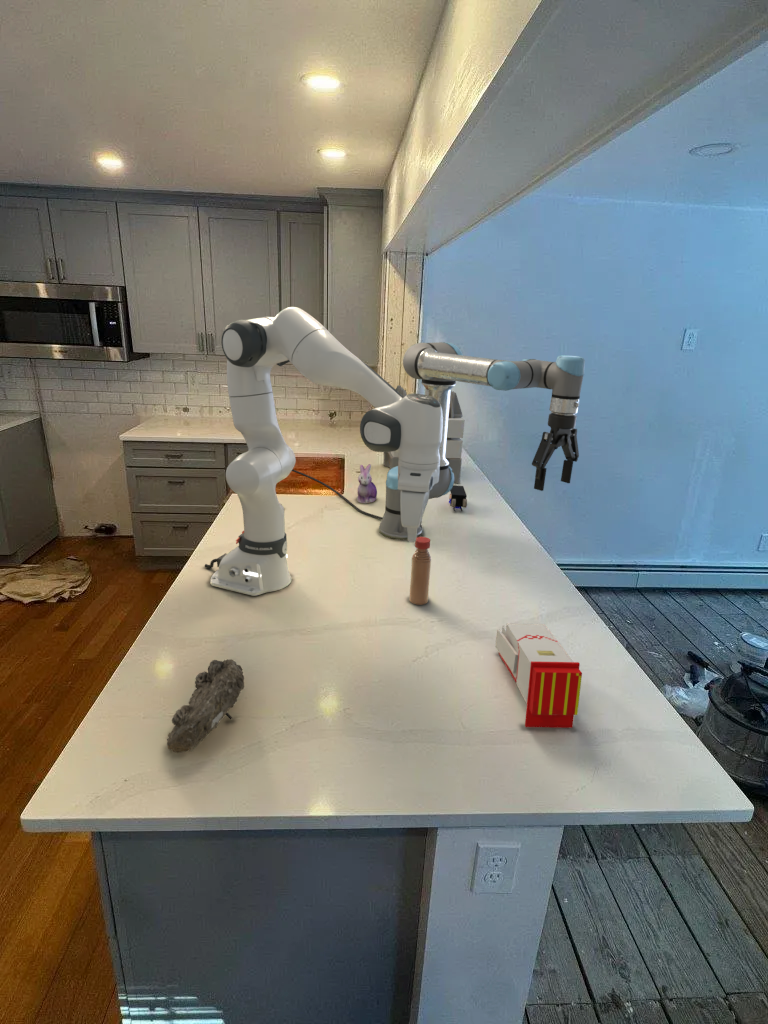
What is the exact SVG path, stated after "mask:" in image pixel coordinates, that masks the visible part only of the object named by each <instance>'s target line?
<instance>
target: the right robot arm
mask: <svg viewBox="0 0 768 1024" xmlns="http://www.w3.org/2000/svg"><path fill="white" fill-rule="evenodd" d="M585 365H586V360H585V358H584V357H582V356H578V355H566V354H565V355H564V354H563V355H558V356H557V357H556V360H555V361H549V360H541V359H536V358H524V359H521V360H506V359H505V360H504V359H503V360H502V359H496V358H487V357H479V356H471V355H464V354H463V352H462V350H461V349H460V347H459V346H457V345H456V344H455V343H451V342H445V341H443V342H442V341H441V342H440V341H439V342H438V341H437V342H417V343H414V344H412V345H411V346H409V347H408V348H407V350H406V351H405V353H404V355H403V358H402V366H403V369H404V372H405V373H406V374H407V375H408V376H409V377H411V378H412V379H415V380H421V385H422V386H423V387H424V389H425V392H424V395H428V396H430V397H433V398H435V399H436V400H437V401H438V402H439V403H440V405H441V408H442V415H443V431H442V441H441V444H440V448H439V454H440V472H439V482H438V483H436V484H434V486H433V487H432V489H431V490H430V492H429V500H431V499H437V498H440V497H443V496H446V495H448V493H450V490H451V489H452V487H453V485H454V484H455V483H454V473H452V469H451V467H450V466H449V462H448V461H447V459H446V458H445V453H446V441H447V428H448V416H449V404H450V392H451V391H452V389H453V388H454V387H455V386H456V384H457V382H461V383H465V384H473V385H479V386H487V387H491V388H492V389H494V390H496V391H503V392H504V391H511V390H520V389H532V388H533V389H534V388H539V389H546V390H551V398H550V404H549V413H548V418H547V419H548V420H547V426H548V427H549V428H550V431H549V432H548V431H543V432H542V435H541V440H540V442H539V445H538V447H537V449H536V452H535V454H534V457H533V460H532V461H531V466H533V467H535V475H534V477H535V478H534V485H533V489H534V490H537V491H539V492H543V491H544V489H545V484H546V483H545V482H546V476H547V468H546V466H547V465H548V463H549V461H550V459H551V457H552V456H553V454H554V453H555V451H556V450H557V449H558V448H560V447H561V449H562V452H563V455H564V458H565V459H563V463H562V468H561V469H562V470H561V475H560V482H562V483H566V484H571V478H572V472H573V466H574V463H576V462H578V461H579V457H580V453H579V444H578V428H576V423H577V419H578V416H577V414H578V412H579V411H578V410H579V406H580V397H581V391H582V385H583V380H584V376H585ZM291 472H294V473H296V474H299V475H301V476H303V477H305V478H308V479H310V480H312V481H315V482H316V483H318V484H320V485H322V486H324V487H326V488H327V489H328V490H330V491H332V492H333V493H335V495H338V496H339V497H340V498H341V499H342V500H344V501H345V502H346V503H347V504H349V505H350V506H352V508H353V509H355V510H356V511H357V512H359V513H361V514H363V515H366V516H369V517H371V518H375V519H378V520H381V522H379V526H378V533H379V534H380V535H381V536H382V537H385V538H387V539H389V540H395V541H408V540H407V539H408V532H407V527H403V526H402V523H401V507H400V493H401V490H398V466H396V467H394V468H392V469H390V468H389V470H388V472H387V474H386V479H385V504H384V505H385V507H384V508H385V509H384V513H383V515H382V516H379V515H376V514H373V513H369V512H367V511H364V510H362V509H360V508H359V507H357V506H356V505H355V504H354V503H353V502H351V501H350V500H349V499H347V497H345V496H344V495H342V494H341V493H340V492H339V491H337V490H336V489H334V488H333V487H332V486H330V485H328V484H326V483H324V482H323V481H321V480H319V479H317V478H315V477H313V476H310V475H308V474H306V473H303V472H301V471H298V470H296V469H293V470H292V471H291ZM423 530H424V527H423V524H421V526H419V528H417V537H422V535H423Z"/></svg>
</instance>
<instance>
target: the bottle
mask: <svg viewBox="0 0 768 1024" xmlns="http://www.w3.org/2000/svg"><path fill="white" fill-rule="evenodd" d="M431 568H432V556H431V554H430V552H429V550H428V549H418V548H416V549H415V551H414V553H413V554H412V557H411V567H410V579H409V580H410V581H409V597H408V600H409V602H410V603H411V604H413V605H418V606H423V605H426V604H427V603H428V602H429V593H430V592H429V591H430V582H431V581H430V578H431Z"/></svg>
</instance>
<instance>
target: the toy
mask: <svg viewBox="0 0 768 1024" xmlns="http://www.w3.org/2000/svg"><path fill="white" fill-rule="evenodd" d="M551 631H552V630H551V629H550V628H548V627H547V625H546V624H545V623H506V625H502V628H501V629H500V628H499V629H497V630H496V636H495V637H496V638H495V644H494V647H495V649H496V651H497V652H498V655H499V657H500V659H501V661H502V662H503V664H504V666H505V667H506V669H507V670H508V672H509V674H510V676H511V677H512V679H513V680H514V682H515V683H516V686H517V688H518V690H519V693H520V694H521V695H522V698H523V700H524V702H525V704H526V708H525V709H526V710H525V721H524V727H525V728H552V729H553V728H555V729H556V728H557V729H562V728H563V729H573V726H574V719H575V716H578V712H579V703H580V695H581V687H582V677H583V672H582V670H580V667H581V665H580V662H578V661H573V659H572V657H570V656H569V655H570V654H568V653H567V651H566V650H565V649H564V647H563V646H562V645H561V644H560V641H558V639H557V638H556V637H555V636H554V634H553V633H552V632H551Z"/></svg>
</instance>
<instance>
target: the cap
mask: <svg viewBox="0 0 768 1024" xmlns="http://www.w3.org/2000/svg"><path fill="white" fill-rule="evenodd" d="M414 547H415V548H416V549H417V548H418V549H427V550H428V549H430V547H431V538H429V537H426V536H420V537H417V538H416V541H415V542H414Z"/></svg>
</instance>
